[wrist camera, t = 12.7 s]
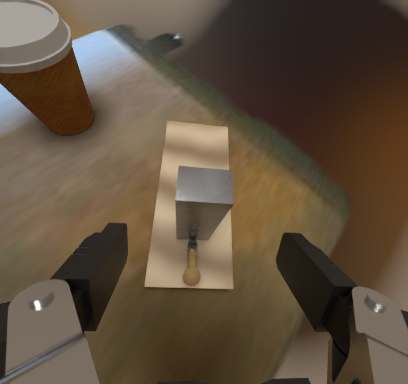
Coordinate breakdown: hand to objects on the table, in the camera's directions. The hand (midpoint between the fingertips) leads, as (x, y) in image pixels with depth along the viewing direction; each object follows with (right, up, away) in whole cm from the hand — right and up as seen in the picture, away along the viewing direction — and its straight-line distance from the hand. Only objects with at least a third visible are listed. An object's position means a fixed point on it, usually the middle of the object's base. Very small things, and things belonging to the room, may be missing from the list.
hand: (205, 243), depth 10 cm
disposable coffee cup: (-20, +13, +19) cm, 30 cm away
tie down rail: (-1, +2, +16) cm, 16 cm away
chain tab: (-1, -1, +12) cm, 12 cm away
